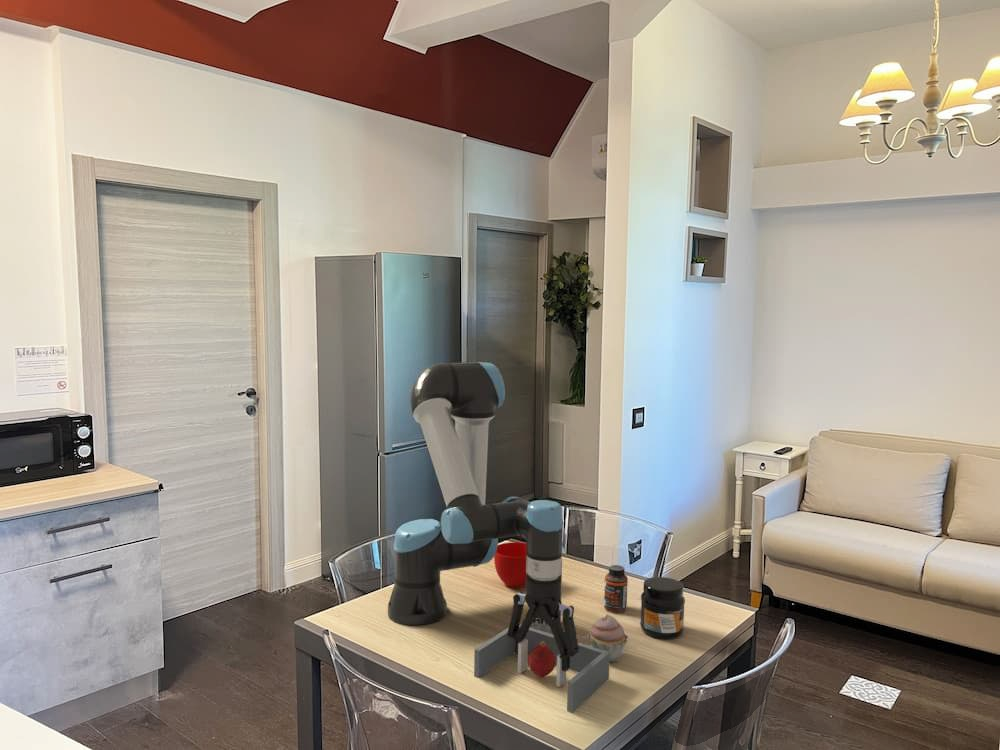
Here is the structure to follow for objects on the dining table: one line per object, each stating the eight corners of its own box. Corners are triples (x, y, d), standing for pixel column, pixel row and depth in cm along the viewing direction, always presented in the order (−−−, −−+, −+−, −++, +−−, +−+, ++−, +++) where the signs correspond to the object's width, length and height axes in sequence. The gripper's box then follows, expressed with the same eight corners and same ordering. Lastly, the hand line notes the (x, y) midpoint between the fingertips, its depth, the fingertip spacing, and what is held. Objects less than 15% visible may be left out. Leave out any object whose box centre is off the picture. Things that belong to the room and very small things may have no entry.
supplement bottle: (601, 611, 191) (602, 569, 190) (606, 602, 197) (608, 561, 196) (623, 615, 189) (625, 572, 188) (628, 606, 194) (630, 565, 193)
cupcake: (584, 646, 171) (585, 605, 170) (624, 647, 171) (625, 606, 170) (588, 665, 162) (589, 622, 161) (630, 667, 162) (631, 623, 161)
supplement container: (669, 644, 173) (671, 595, 172) (631, 631, 180) (633, 583, 179) (691, 630, 180) (693, 583, 179) (654, 617, 188) (655, 572, 186)
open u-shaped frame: (474, 675, 157) (474, 649, 156) (515, 647, 170) (515, 623, 169) (572, 712, 143) (573, 683, 143) (608, 679, 156) (609, 652, 156)
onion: (546, 687, 153) (547, 650, 152) (523, 679, 156) (523, 643, 155) (559, 675, 158) (560, 640, 157) (536, 668, 161) (537, 633, 160)
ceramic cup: (553, 593, 203) (554, 558, 202) (492, 591, 203) (493, 556, 202) (551, 575, 216) (551, 542, 215) (493, 574, 216) (494, 541, 215)
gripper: (491, 568, 158) (490, 669, 160) (580, 592, 145) (577, 700, 147) (510, 559, 164) (509, 655, 166) (598, 581, 151) (595, 685, 153)
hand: (541, 676), depth 157 cm, fingers open, 9 cm apart
